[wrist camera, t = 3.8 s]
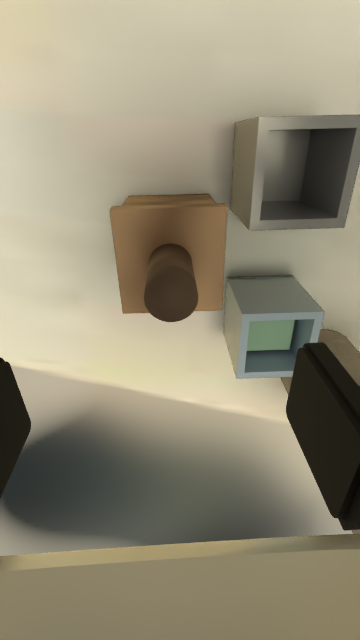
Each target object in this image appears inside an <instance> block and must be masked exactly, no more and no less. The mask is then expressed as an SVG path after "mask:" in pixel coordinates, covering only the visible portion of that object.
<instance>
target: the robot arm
mask: <svg viewBox="0 0 360 640" xmlns="http://www.w3.org/2000/svg"><path fill="white" fill-rule="evenodd" d="M286 413H287V417H288V420H289V422H290V424H291V427H292V429H293V431H294V433H295V435H296V438H297V440H298V442H299V444H300V447H301V449H302V451H303V453H304V456H305V458H306V460H307V462H308V464H309V467H310V469H311V471H312V473H313V475H314V478H315V480H316V482H317V485H318V487H319V489H320V491H321V493H322V496H323V498H324V500H325V502H326V505H327V507H328V509H329V511H330V513H331V515H332V516H333V517H334V518H338V519H339V521H340V523H341V526H342V528H343V530H359V529H360V386H359V385H358V384H357V383H356V382H355V381H354V379H353V378H352V377H351V376H350V374H349V373H348V372H347V371H346V369H345V368H344V367H343V366H342V364H341V363H340V362H339V360H338V359H337V358H336V357H335V355H334V354H333V353H332V352H331V350H330V349H329V348H328V347H327V345H326V344H325V343H323V342H317V343H305V344H304V345H303V348H299V349H298V351H297V356H296V361H295V366H294V371H293V376H292V381H291V386H290V391H289V396H288V400H287V405H286ZM30 429H31V421H30V418H29V415H28V412H27V410H26V407H25V404H24V402H23V399H22V396H21V393H20V391H19V388H18V385H17V383H16V380H15V377H14V374H13V371H12V369H11V366H10V364H9V363H8V362H5V361H4V360H3V359H2V358H0V497H1V495H2V493H3V491H4V488H5V486H6V484H7V482H8V479H9V477H10V474H11V473H12V470H13V468H14V466H15V464H16V462H17V459H18V457H19V455H20V452H21V450H22V448H23V446H24V444H25V441H26V439H27V437H28V435H29V432H30ZM0 640H360V534H342V535H320V536H298V537H282V538H266V539H248V540H232V541H215V542H199V543H185V544H170V545H154V546H139V547H124V548H109V549H95V550H80V551H66V552H51V553H39V554H24V555H10V556H0Z"/></svg>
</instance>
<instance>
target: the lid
mask: <svg viewBox="0 0 360 640" xmlns="http://www.w3.org/2000/svg"><path fill="white" fill-rule="evenodd" d="M110 217H111V225H112V233H113V241H114V248H115V256H116V264H117V272H118V280H119V288H120V295H121V303H122V311H123V314H124V313H151V314H152V315H153V316H154V317H156V318H157V319H159V320H162V321H166V322H176V321H180V320H183V319H185V318H187V317H188V316H189V315H191V314H192V313H193V311H214V310H222V300H223V280H224V260H225V240H226V221H227V206H226V205H225V204H224V203H215V204H180V205H145V206H113V207H112V208H111V209H110Z"/></svg>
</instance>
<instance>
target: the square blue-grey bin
mask: <svg viewBox="0 0 360 640" xmlns="http://www.w3.org/2000/svg"><path fill="white" fill-rule="evenodd" d="M323 316H324V310H323V309H322V308H321V307H320V306H319V305H318V304H317V303H316V301H315V300H314V299H313V298H312V297H311V296H310V295H309V294H308V292H307V291H306V290H305V289H304V288H303V287H302V286H301V285H300V284H299V282H298V281H297V280H296V279H295V278H294V277H293V276H292V275H283V276H251V277H227V281H226V299H225V317H224V336H225V340H226V343H227V347H228V350H229V354H230V358H231V361H232V365H233V368H234V372H235V375H236V379H241V378H269V377H292V376H293V371H294V366H295V361H296V356H297V351H298V349H299V348H303V345H304V344H305V343H317V342H318V337H319V333H320V329H321V325H322V320H323ZM271 320H295V322H294V328H293V333H292V339H291V344H290V349H288V350H260V351H247V342H248V332H249V322H250V321H271Z"/></svg>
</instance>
